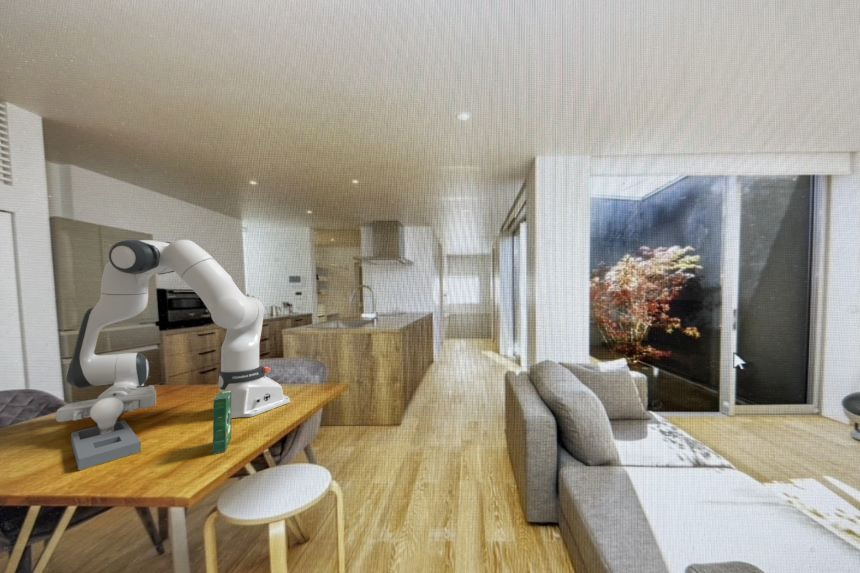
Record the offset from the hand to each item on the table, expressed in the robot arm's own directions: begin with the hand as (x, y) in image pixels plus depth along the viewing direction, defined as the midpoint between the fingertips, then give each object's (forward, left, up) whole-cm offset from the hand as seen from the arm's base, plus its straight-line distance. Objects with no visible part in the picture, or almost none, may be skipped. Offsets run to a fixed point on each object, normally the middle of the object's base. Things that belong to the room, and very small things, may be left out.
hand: (102, 413), depth 82 cm
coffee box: (-18, +34, -7) cm, 39 cm away
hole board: (0, +8, -7) cm, 11 cm away
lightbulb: (-1, +1, -7) cm, 7 cm away
